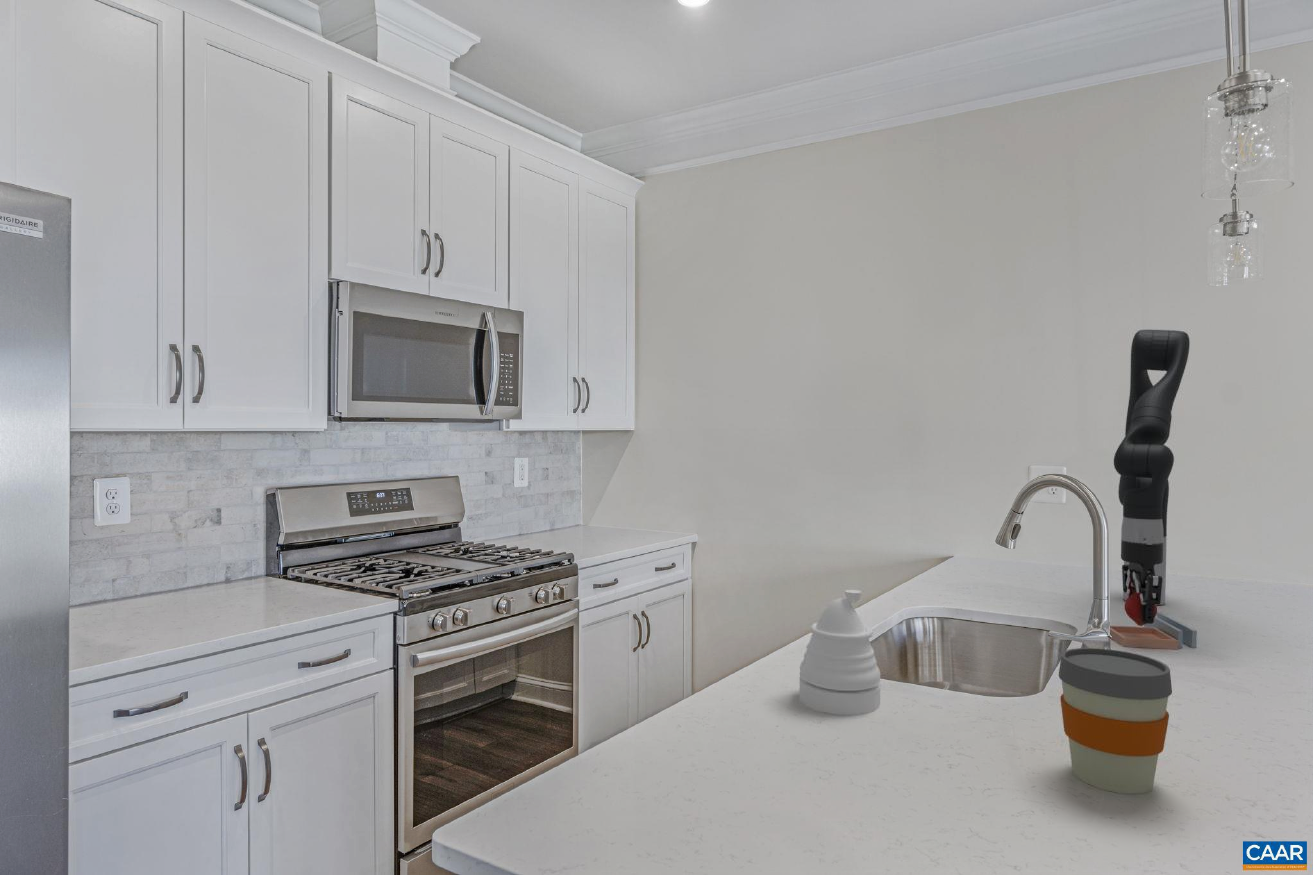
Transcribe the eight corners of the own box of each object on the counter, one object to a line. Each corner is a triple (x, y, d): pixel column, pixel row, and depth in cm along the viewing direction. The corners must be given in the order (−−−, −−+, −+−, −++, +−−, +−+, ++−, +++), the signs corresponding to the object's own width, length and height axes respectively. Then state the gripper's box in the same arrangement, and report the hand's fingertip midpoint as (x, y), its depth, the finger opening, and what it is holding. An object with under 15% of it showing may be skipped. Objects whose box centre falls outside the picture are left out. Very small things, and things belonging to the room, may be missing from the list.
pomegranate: (1148, 622, 168) (1148, 585, 167) (1162, 629, 162) (1163, 590, 162) (1119, 621, 168) (1119, 584, 168) (1132, 628, 162) (1133, 590, 162)
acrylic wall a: (1156, 627, 176) (1157, 612, 176) (1160, 627, 176) (1161, 612, 176) (1192, 647, 161) (1192, 630, 161) (1196, 647, 160) (1196, 630, 160)
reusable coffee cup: (1042, 776, 101) (1044, 660, 101) (1075, 748, 110) (1077, 642, 109) (1155, 811, 92) (1157, 684, 92) (1181, 778, 101) (1183, 662, 100)
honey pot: (880, 691, 133) (881, 585, 132) (880, 718, 120) (882, 601, 120) (802, 684, 136) (804, 580, 136) (795, 710, 124) (796, 596, 123)
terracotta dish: (1104, 633, 171) (1104, 625, 171) (1155, 636, 169) (1155, 627, 169) (1123, 646, 161) (1123, 637, 161) (1178, 649, 159) (1178, 640, 159)
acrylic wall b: (1144, 628, 176) (1144, 612, 176) (1148, 628, 176) (1148, 612, 176) (1178, 648, 160) (1178, 630, 160) (1182, 648, 160) (1182, 631, 160)
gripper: (1109, 534, 172) (1107, 610, 173) (1137, 543, 158) (1135, 627, 159) (1146, 535, 171) (1145, 612, 171) (1178, 545, 157) (1176, 629, 157)
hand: (1140, 618), depth 165 cm, fingers closed on pomegranate, 6 cm apart
